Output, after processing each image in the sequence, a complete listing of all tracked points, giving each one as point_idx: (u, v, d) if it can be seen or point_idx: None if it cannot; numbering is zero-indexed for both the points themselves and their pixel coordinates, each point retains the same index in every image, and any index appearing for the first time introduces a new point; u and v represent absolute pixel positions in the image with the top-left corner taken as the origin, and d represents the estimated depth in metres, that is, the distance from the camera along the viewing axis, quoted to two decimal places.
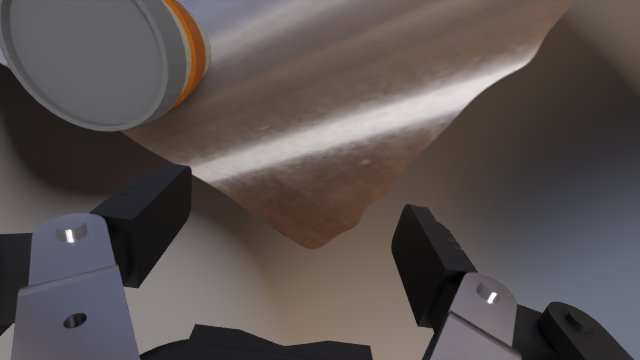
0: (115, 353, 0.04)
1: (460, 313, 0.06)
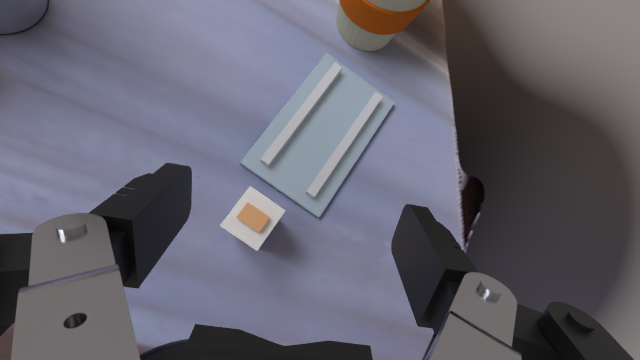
0: (115, 353, 0.04)
1: (460, 313, 0.06)
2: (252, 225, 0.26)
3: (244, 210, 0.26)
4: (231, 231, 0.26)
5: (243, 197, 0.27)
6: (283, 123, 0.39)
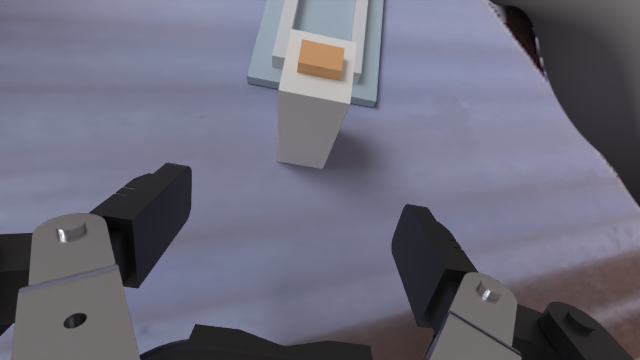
0: (115, 353, 0.04)
1: (460, 313, 0.06)
2: (327, 65, 0.16)
3: (304, 50, 0.16)
4: (299, 91, 0.16)
5: (290, 44, 0.17)
6: (276, 17, 0.29)
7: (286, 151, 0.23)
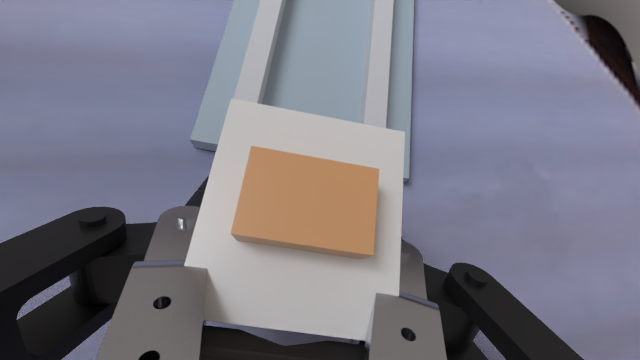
0: (182, 345, 0.04)
1: None
2: (326, 237, 0.05)
3: (254, 187, 0.05)
4: (239, 314, 0.05)
5: (225, 148, 0.06)
6: (246, 36, 0.18)
7: None
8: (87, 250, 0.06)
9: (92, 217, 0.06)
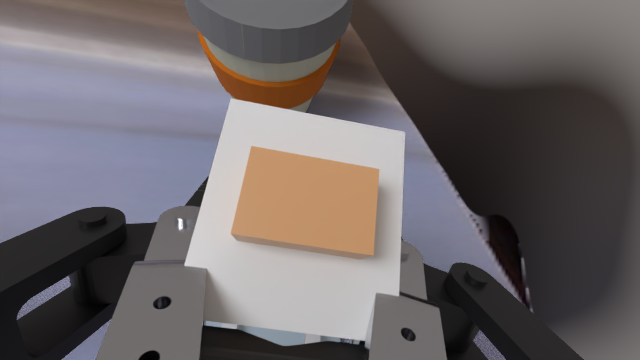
0: (182, 345, 0.04)
1: None
2: (326, 237, 0.05)
3: (255, 188, 0.05)
4: (239, 315, 0.05)
5: (225, 148, 0.06)
6: None
7: None
8: (87, 250, 0.06)
9: (92, 217, 0.06)
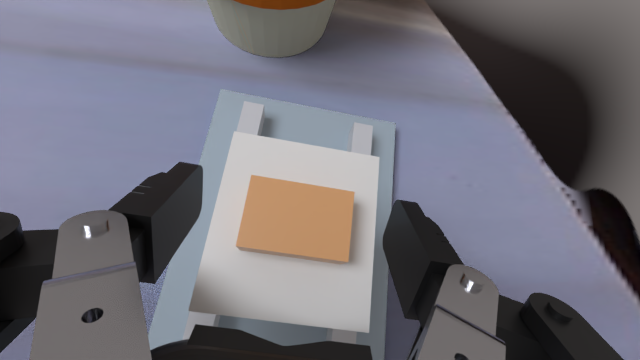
0: (128, 350, 0.04)
1: (445, 305, 0.06)
2: (311, 248, 0.06)
3: (254, 209, 0.06)
4: (242, 310, 0.07)
5: (229, 174, 0.07)
6: (187, 294, 0.15)
7: None
8: None
9: None
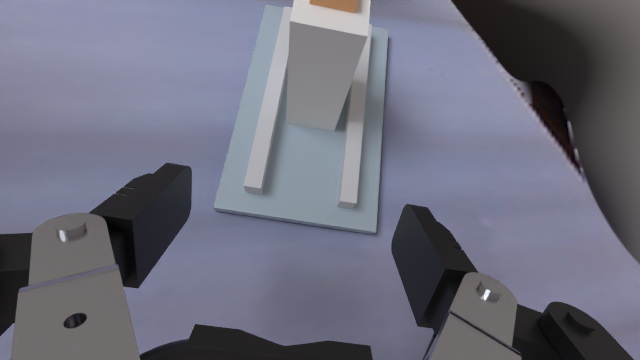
0: (115, 353, 0.04)
1: (460, 313, 0.06)
2: None
3: None
4: (312, 23, 0.15)
5: None
6: (253, 121, 0.24)
7: (296, 108, 0.22)
8: None
9: None
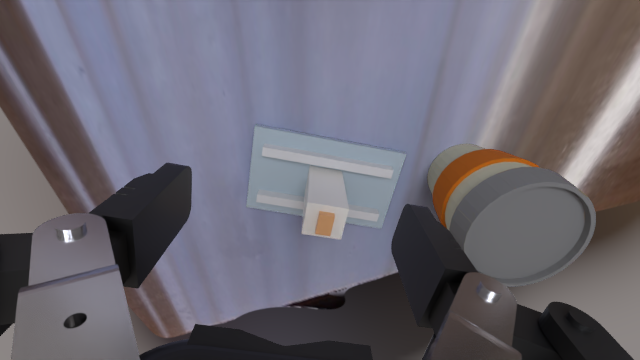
0: (115, 353, 0.04)
1: (460, 313, 0.06)
2: (318, 227, 0.31)
3: (327, 218, 0.31)
4: (307, 211, 0.31)
5: (337, 208, 0.31)
6: (310, 146, 0.39)
7: (308, 177, 0.38)
8: None
9: None
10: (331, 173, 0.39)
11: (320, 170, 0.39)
